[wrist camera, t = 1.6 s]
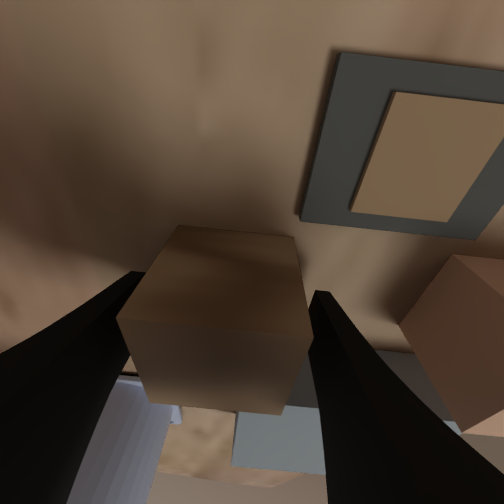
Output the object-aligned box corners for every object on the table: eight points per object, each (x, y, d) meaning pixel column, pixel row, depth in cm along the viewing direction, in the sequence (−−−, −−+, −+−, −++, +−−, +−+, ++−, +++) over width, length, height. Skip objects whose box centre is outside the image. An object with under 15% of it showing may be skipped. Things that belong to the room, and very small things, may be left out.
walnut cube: (187, 302, 13) (149, 402, 8) (179, 224, 10) (115, 317, 6) (276, 311, 13) (280, 415, 8) (293, 236, 10) (313, 337, 6)
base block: (236, 408, 21) (230, 466, 18) (246, 331, 14) (240, 401, 11) (361, 420, 21) (378, 479, 18) (430, 349, 14) (479, 423, 11)
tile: (298, 216, 9) (300, 223, 9) (337, 54, 6) (344, 50, 6) (467, 235, 9) (479, 243, 9) (581, 83, 6) (609, 82, 6)
